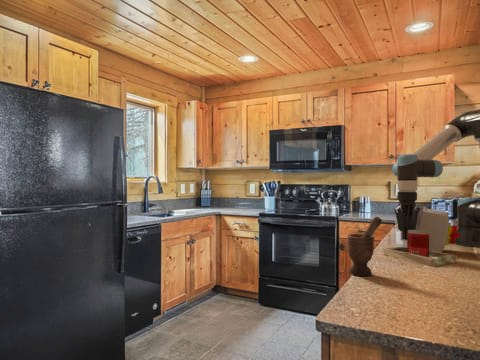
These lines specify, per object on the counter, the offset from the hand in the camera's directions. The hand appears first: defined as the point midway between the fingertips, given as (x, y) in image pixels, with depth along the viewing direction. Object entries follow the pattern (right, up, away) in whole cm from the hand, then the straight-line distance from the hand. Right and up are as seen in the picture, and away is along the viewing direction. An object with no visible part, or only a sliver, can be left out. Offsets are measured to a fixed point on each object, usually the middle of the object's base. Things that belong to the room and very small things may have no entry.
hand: (406, 247), depth 147 cm
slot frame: (+3, -4, -5) cm, 6 cm away
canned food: (+2, -4, -5) cm, 7 cm away
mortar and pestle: (-28, -4, -29) cm, 41 cm away
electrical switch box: (+18, -4, +8) cm, 20 cm away
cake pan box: (+23, -4, +40) cm, 46 cm away
